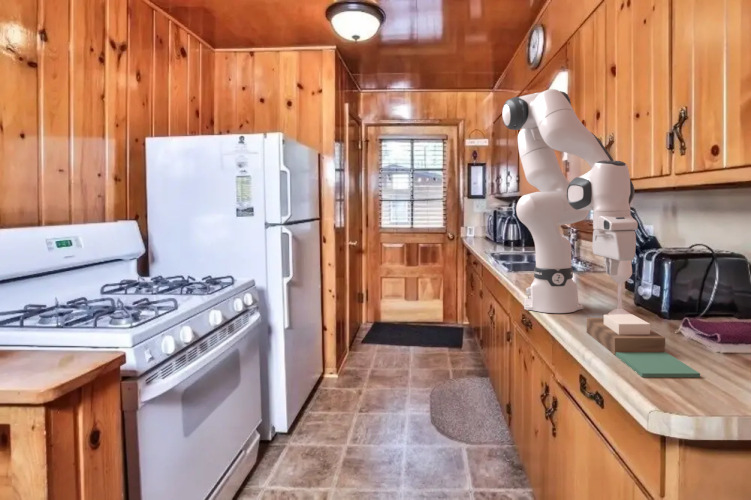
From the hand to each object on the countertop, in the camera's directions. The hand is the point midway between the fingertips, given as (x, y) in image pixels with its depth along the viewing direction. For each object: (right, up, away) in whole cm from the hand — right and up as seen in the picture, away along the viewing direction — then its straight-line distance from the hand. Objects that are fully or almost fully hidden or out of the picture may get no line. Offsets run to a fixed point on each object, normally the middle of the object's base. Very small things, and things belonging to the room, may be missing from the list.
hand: (611, 274), depth 127 cm
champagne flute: (+14, -14, +23) cm, 30 cm away
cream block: (-1, -13, -8) cm, 15 cm away
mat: (-2, -18, -23) cm, 30 cm away
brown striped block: (0, -17, -6) cm, 18 cm away
